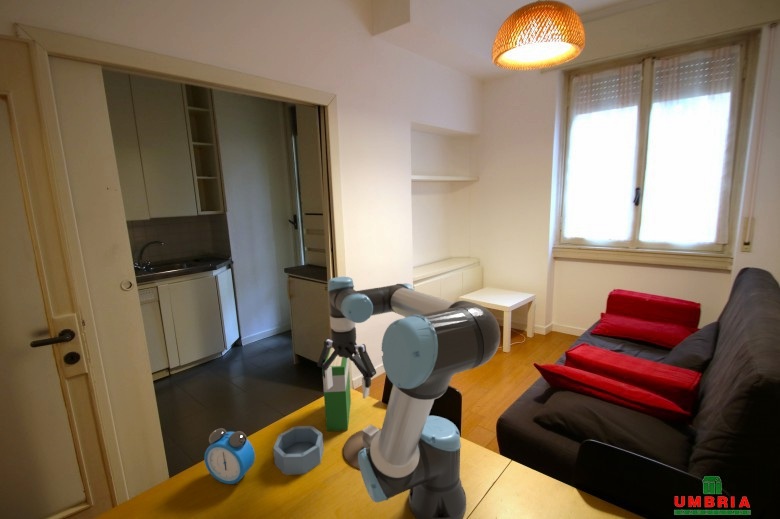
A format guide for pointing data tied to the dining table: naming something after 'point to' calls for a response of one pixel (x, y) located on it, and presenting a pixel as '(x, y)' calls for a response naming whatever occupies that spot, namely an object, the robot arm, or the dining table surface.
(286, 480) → the dining table surface
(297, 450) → the bowl
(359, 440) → the lid
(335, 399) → the hardback book
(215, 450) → the alarm clock
